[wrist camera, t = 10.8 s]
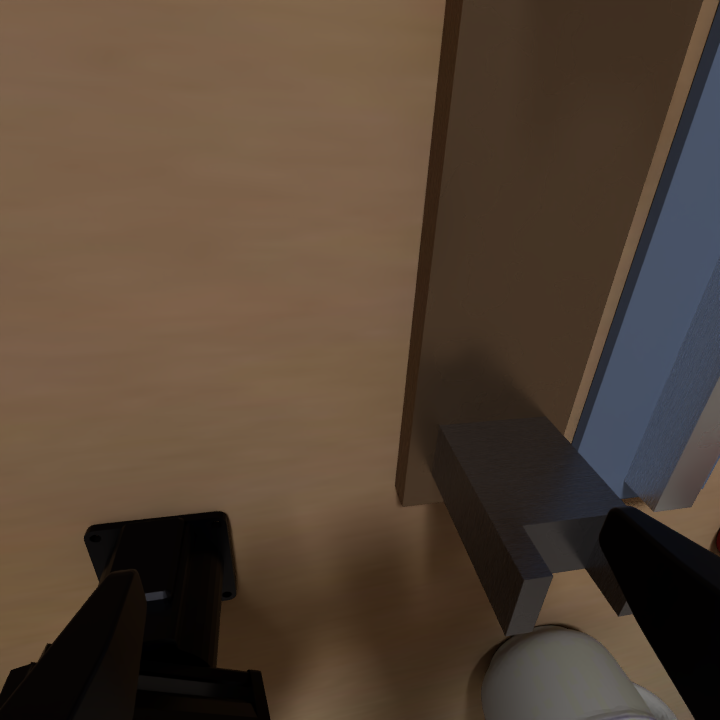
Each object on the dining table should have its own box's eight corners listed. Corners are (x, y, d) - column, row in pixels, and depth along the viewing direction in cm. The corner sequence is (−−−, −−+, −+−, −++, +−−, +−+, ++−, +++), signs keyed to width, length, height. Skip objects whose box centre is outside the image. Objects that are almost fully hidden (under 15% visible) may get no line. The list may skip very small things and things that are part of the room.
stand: (531, 470, 26) (654, 638, 18) (395, 485, 25) (461, 674, 17) (776, -367, 12) (1820, -1303, 4) (493, -447, 11) (1231, -2158, 3)
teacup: (441, 685, 37) (483, 820, 30) (511, 597, 32) (579, 732, 26) (573, 688, 41) (635, 805, 34) (649, 612, 37) (737, 728, 30)
